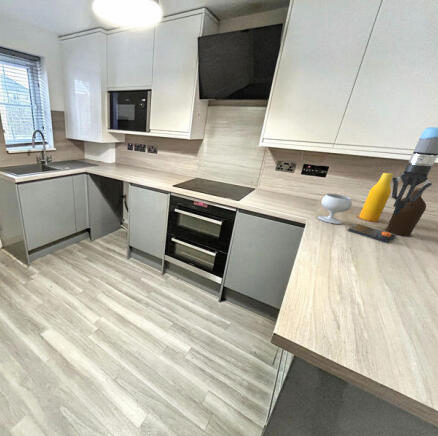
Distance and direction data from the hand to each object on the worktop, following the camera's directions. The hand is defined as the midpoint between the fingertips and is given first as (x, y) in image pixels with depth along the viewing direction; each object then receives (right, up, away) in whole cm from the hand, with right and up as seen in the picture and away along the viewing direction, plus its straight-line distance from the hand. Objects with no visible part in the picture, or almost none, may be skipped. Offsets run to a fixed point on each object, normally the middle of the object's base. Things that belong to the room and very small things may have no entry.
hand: (395, 214), depth 113 cm
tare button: (-1, -11, +4) cm, 11 cm away
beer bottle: (+20, -3, +35) cm, 40 cm away
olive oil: (+19, -10, +16) cm, 27 cm away
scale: (0, -10, +12) cm, 16 cm away
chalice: (-10, -4, +29) cm, 30 cm away
